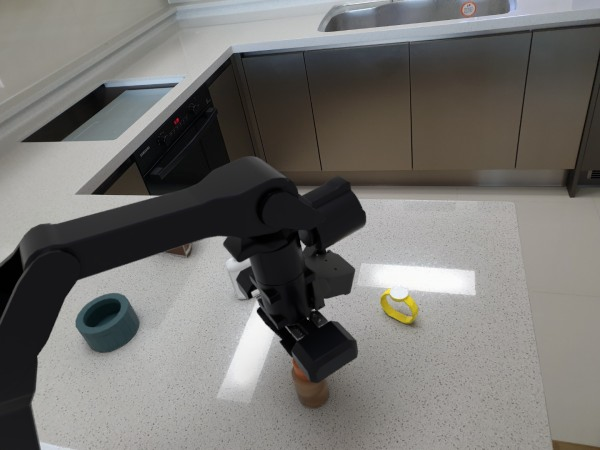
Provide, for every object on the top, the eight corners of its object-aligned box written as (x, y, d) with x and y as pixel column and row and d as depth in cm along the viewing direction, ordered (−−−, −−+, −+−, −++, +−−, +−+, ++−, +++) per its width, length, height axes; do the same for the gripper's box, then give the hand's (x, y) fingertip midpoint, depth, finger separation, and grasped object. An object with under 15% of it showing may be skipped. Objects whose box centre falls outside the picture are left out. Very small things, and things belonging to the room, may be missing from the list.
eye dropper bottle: (263, 300, 81) (247, 249, 74) (233, 300, 82) (214, 250, 75) (268, 282, 84) (253, 232, 77) (239, 282, 86) (222, 233, 78)
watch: (378, 315, 74) (375, 290, 70) (387, 304, 75) (385, 278, 72) (412, 331, 70) (411, 305, 67) (421, 319, 72) (420, 293, 68)
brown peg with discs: (306, 385, 60) (296, 350, 55) (290, 371, 62) (279, 336, 57) (324, 369, 61) (315, 333, 57) (308, 356, 63) (298, 320, 59)
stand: (312, 414, 62) (306, 391, 59) (291, 394, 65) (284, 372, 62) (335, 392, 64) (330, 369, 61) (314, 374, 67) (308, 351, 64)
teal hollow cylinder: (99, 361, 76) (86, 342, 73) (81, 333, 82) (68, 315, 79) (147, 328, 80) (136, 309, 77) (126, 304, 86) (115, 285, 83)
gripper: (393, 277, 46) (399, 370, 55) (297, 201, 60) (315, 286, 69) (300, 334, 42) (323, 423, 52) (220, 239, 56) (250, 323, 65)
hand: (302, 354), depth 59 cm, fingers closed on brown peg with discs, 2 cm apart
